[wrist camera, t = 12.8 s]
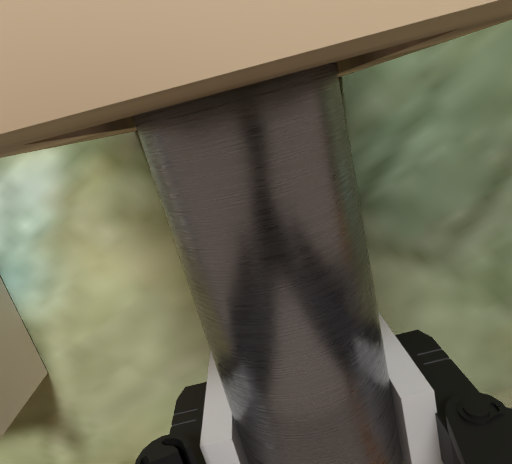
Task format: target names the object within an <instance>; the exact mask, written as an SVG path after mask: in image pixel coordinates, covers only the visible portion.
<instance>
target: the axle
mask: <svg viewBox="0 0 512 464" xmlns="http://www.w3.org/2000/svg"><path fill="white" fill-rule="evenodd" d="M132 117H133V120H134V123H135V126H136V129H137V132H138V135H139V138H140V141H141V144H142V147H143V150H144V153H145V156H146V159H147V162H148V165H149V168H150V171H151V173H152V176H153V179H154V182H155V185H156V188H157V191H158V194H159V197H160V200H161V203H162V206H163V209H164V212H165V215H166V218H167V221H168V224H169V227H170V230H171V233H172V236H173V239H174V242H175V245H176V248H177V251H178V254H179V257H180V260H181V263H182V266H183V269H184V272H185V275H186V278H187V281H188V284H189V287H190V290H191V293H192V296H193V299H194V302H195V305H196V308H197V311H198V314H199V317H200V320H201V323H202V326H203V329H204V332H205V335H206V338H207V341H208V344H209V347H210V350H211V353H212V356H213V359H214V362H215V365H216V368H217V371H218V374H219V377H220V380H221V383H222V386H223V389H224V391H225V394H226V397H227V400H228V403H229V406H230V409H231V412H232V415H233V418H234V421H235V424H236V427H237V430H238V433H239V436H240V439H241V442H242V445H243V448H244V451H245V454H246V457H247V460H248V463H249V464H404V463H403V458H402V452H401V446H400V440H399V434H398V428H397V422H396V416H395V410H394V404H393V398H392V392H391V387H390V381H389V375H388V369H387V363H386V357H385V351H384V345H383V339H382V333H381V327H380V321H379V316H378V310H377V304H376V298H375V292H374V286H373V280H372V274H371V268H370V262H369V256H368V250H367V245H366V239H365V233H364V227H363V221H362V215H361V209H360V203H359V197H358V191H357V185H356V179H355V173H354V168H353V162H352V156H351V150H350V144H349V138H348V132H347V126H346V120H345V114H344V108H343V102H342V97H341V91H340V85H339V79H338V73H337V67H336V62H332V63H328V64H325V65H321V66H317V67H313V68H310V69H306V70H302V71H298V72H295V73H291V74H287V75H284V76H280V77H276V78H272V79H269V80H265V81H261V82H257V83H254V84H250V85H246V86H242V87H239V88H235V89H231V90H227V91H224V92H220V93H216V94H212V95H209V96H205V97H201V98H197V99H194V100H190V101H186V102H182V103H179V104H175V105H171V106H167V107H164V108H160V109H156V110H153V111H149V112H145V113H141V114H138V115H134V116H132Z"/></svg>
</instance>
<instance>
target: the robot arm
mask: <svg viewBox="0 0 512 464" xmlns="http://www.w3.org/2000/svg"><path fill="white" fill-rule="evenodd" d="M378 316H379V321H380V327H381V333H382V339H383V345H384V351H385V357H386V363H387V369H388V375H389V381H390V387H391V392H392V398H393V404H394V410H395V416H396V422H397V428H398V434H399V440H400V446H401V452H402V458H403V461H404V463H405V464H512V409H511V408H507V407H505V406H504V405H503V403H502V402H500V401H499V400H497V399H495V398H494V397H492V396H490V395H486V394H483V393H480V392H479V391H478V390H477V389H476V388H475V387H474V385H473V384H472V383H471V382H470V381H469V380H468V379H467V377H466V376H465V375H464V374H463V373H462V372H461V370H460V369H459V368H458V367H457V366H456V365H455V363H454V362H453V361H452V360H451V359H449V356H448V355H447V354H446V353H445V352H444V351H443V350H442V349H441V347H440V346H439V345H438V344H437V343H436V341H435V340H434V339H433V338H432V337H430V336H429V335H427V334H425V333H423V332H421V331H419V330H415V331H410V332H406V333H402V334H398V335H394V333H393V332H392V330H391V329H390V328H389V326H388V325H387V323H386V322H385V321H384V319H383V318H382V316H381V315H380V313H379V312H378ZM135 464H249V463H248V460H247V457H246V454H245V451H244V448H243V445H242V442H241V439H240V436H239V433H238V430H237V427H236V424H235V421H234V418H233V415H232V412H231V409H230V406H229V403H228V400H227V397H226V394H225V391H224V389H223V386H222V383H221V380H220V377H219V374H218V371H217V368H216V365H215V362H214V359H213V356H212V353H211V350H210V359H209V368H208V377H207V382H205V383H200V384H196V385H192V386H188V387H185V388H184V390H183V391H182V393H181V394H180V396H179V397H178V399H177V401H176V405H175V410H174V416H173V420H172V427H171V429H170V434H169V435H165V436H162V437H160V438H158V439H156V440H154V441H152V442H151V443H150V444H149V445H148V446H147V447H145V448H144V449H143V450H142V452H141V453H140V455H139V456H138V458H137V459H136V463H135Z"/></svg>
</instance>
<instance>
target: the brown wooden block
mask: <svg viewBox="0 0 512 464" xmlns="http://www.w3.org/2000/svg"><path fill="white" fill-rule="evenodd" d="M509 20H512V0H0V158H1V157H6V156H11V155H17V154H22V153H27V152H32V151H37V150H42V149H47V148H52V147H57V146H62V145H67V144H73V143H78V142H83V141H88V140H93V139H98V138H103V137H108V136H113V135H118V134H123V133H129V132H134V131H137V129H136V126H135V123H134V120H133V117H132V116H134V115H138V114H141V113H145V112H149V111H153V110H156V109H160V108H164V107H167V106H171V105H175V104H179V103H182V102H186V101H190V100H194V99H197V98H201V97H205V96H209V95H212V94H216V93H220V92H224V91H227V90H231V89H235V88H239V87H242V86H246V85H250V84H254V83H257V82H261V81H265V80H269V79H272V78H276V77H280V76H284V75H287V74H291V73H295V72H298V71H302V70H306V69H310V68H313V67H317V66H321V65H325V64H328V63H332V62H336V67H337V73H338V77H341V76H344V75H347V74H350V73H353V72H356V71H359V70H362V69H365V68H368V67H371V66H374V65H377V64H380V63H383V62H386V61H389V60H392V59H395V58H398V57H401V56H404V55H407V54H410V53H413V52H416V51H419V50H422V49H425V48H428V47H431V46H434V45H437V44H440V43H443V42H446V41H449V40H452V39H455V38H458V37H461V36H464V35H467V34H470V33H473V32H476V31H479V30H482V29H485V28H488V27H491V26H494V25H497V24H500V23H503V22H506V21H509Z"/></svg>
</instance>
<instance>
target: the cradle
mask: <svg viewBox="0 0 512 464" xmlns="http://www.w3.org/2000/svg"><path fill="white" fill-rule="evenodd" d="M47 373H48V372H47V370H46V368H45V366H44V364H43V362H42V360H41V358H40V356H39V354H38V352H37V350H36V348H35V346H34V344H33V342H32V340H31V338H30V336H29V334H28V332H27V330H26V328H25V326H24V324H23V322H22V320H21V318H20V316H19V314H18V312H17V310H16V308H15V306H14V304H13V302H12V300H11V298H10V296H9V294H8V292H7V290H6V288H5V286H4V284H3V281H2V279H1V277H0V438H1V437H2V436H3V434H4V433H5V431H6V430H7V429H8V427H9V426H10V425H11V423H12V422H13V420H14V419H15V418H16V416H17V415H18V413H19V412H20V411H21V409H22V408H23V407H24V405H25V404H26V402H27V401H28V400H29V398H30V397H31V395H32V394H33V393H34V391H35V390H36V389H37V387H38V386H39V384H40V383H41V382H42V380H43V379H44V377H45V376H46V375H47Z"/></svg>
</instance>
